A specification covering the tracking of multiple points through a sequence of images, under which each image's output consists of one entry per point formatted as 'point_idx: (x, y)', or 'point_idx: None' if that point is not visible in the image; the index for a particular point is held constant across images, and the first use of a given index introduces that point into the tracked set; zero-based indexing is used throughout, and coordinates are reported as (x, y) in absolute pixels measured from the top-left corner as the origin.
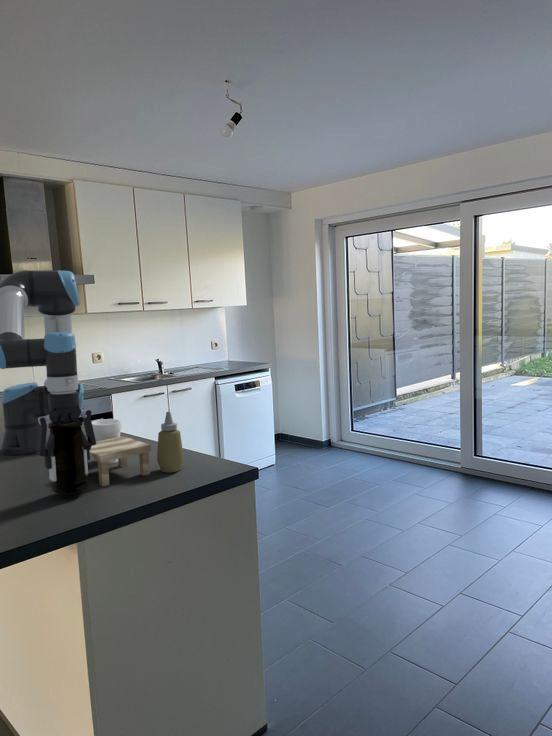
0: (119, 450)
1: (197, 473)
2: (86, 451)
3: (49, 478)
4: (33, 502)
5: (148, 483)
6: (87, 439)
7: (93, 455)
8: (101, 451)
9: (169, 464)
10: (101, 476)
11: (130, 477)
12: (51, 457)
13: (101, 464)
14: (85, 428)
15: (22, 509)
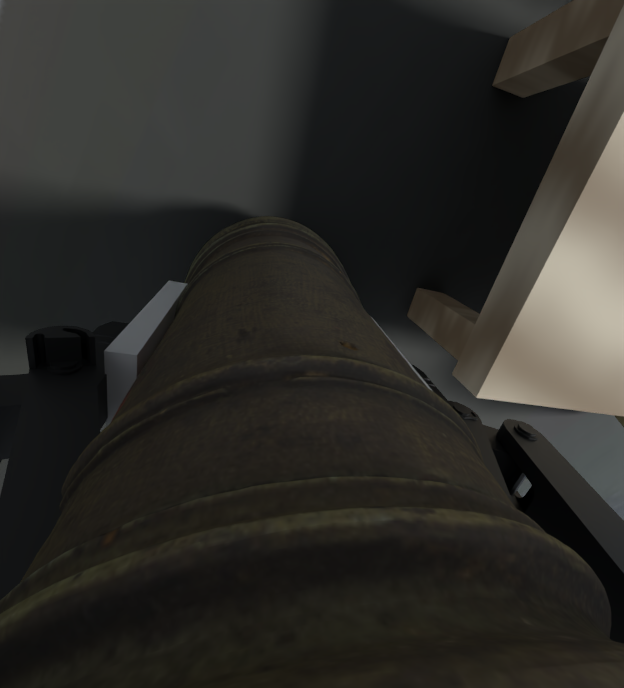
0: (602, 393)
1: (600, 453)
2: None
3: (167, 282)
4: (109, 224)
5: (485, 415)
6: (522, 451)
7: (507, 309)
8: (569, 323)
9: (620, 421)
10: (428, 325)
11: None
12: (108, 421)
13: (458, 359)
14: (616, 592)
15: (31, 265)
